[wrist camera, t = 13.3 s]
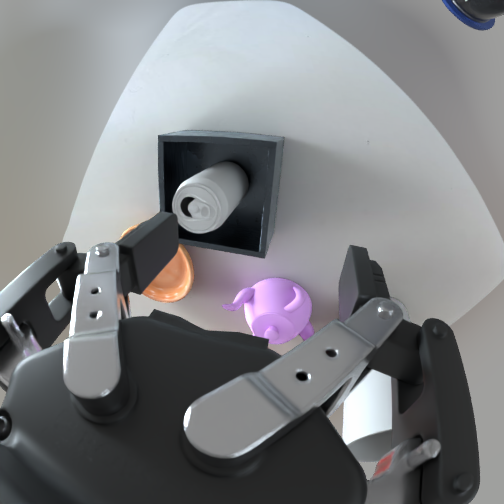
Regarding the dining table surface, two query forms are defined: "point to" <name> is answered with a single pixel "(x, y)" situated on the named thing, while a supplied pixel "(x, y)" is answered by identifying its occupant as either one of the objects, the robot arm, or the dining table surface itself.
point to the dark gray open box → (252, 205)
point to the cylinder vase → (370, 414)
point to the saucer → (171, 277)
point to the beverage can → (210, 197)
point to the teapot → (276, 310)
